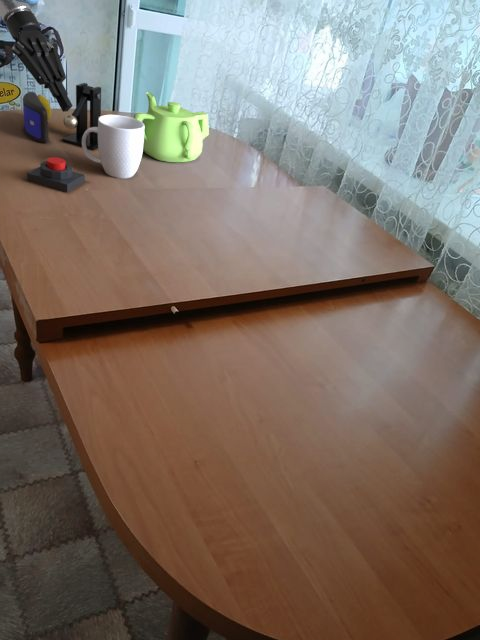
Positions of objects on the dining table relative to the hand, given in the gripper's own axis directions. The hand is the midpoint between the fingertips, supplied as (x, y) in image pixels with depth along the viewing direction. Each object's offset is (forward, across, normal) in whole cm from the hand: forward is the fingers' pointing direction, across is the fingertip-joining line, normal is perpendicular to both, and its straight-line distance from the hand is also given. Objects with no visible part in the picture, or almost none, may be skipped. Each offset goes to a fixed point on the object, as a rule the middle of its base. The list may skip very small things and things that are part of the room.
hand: (67, 108), depth 140 cm
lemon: (-6, -8, -22) cm, 24 cm away
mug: (+20, +1, +5) cm, 21 cm away
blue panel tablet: (-1, -1, -16) cm, 16 cm away
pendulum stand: (+6, -10, -9) cm, 14 cm away
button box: (+18, +17, +3) cm, 25 cm away
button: (+16, +17, +6) cm, 24 cm away
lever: (0, -6, -2) cm, 6 cm away
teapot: (+17, -24, +2) cm, 30 cm away
